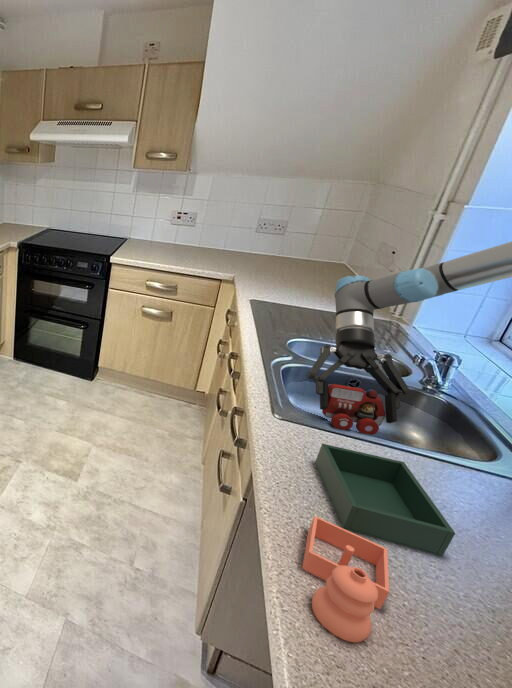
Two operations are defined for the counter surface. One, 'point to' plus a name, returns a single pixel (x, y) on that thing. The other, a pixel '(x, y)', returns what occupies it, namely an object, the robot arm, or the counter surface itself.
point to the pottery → (346, 581)
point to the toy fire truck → (354, 408)
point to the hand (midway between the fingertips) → (357, 415)
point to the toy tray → (382, 500)
